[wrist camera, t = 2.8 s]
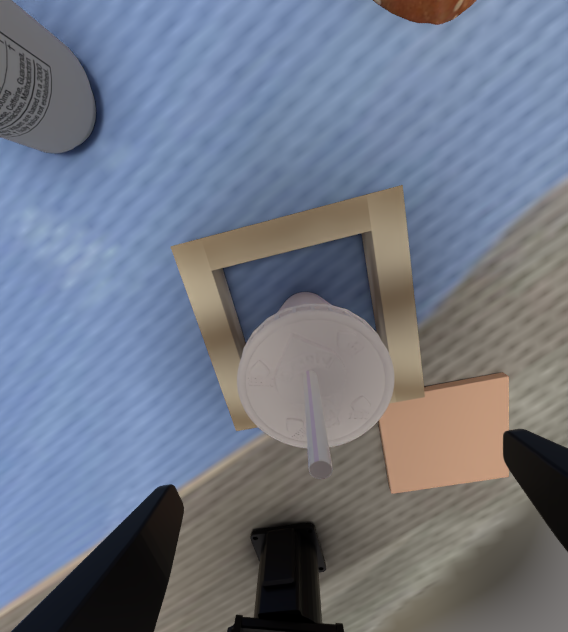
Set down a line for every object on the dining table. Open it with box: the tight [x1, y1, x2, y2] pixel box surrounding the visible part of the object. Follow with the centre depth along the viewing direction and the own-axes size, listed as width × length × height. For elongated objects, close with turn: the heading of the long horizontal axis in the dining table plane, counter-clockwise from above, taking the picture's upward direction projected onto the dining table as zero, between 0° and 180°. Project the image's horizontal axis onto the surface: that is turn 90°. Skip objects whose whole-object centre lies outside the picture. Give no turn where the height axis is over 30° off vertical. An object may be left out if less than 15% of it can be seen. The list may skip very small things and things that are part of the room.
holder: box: [171, 185, 425, 431], centre depth 18 cm, size 14×14×2 cm
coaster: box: [378, 372, 509, 494], centre depth 22 cm, size 10×10×1 cm
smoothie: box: [237, 292, 394, 479], centre depth 13 cm, size 6×6×14 cm
